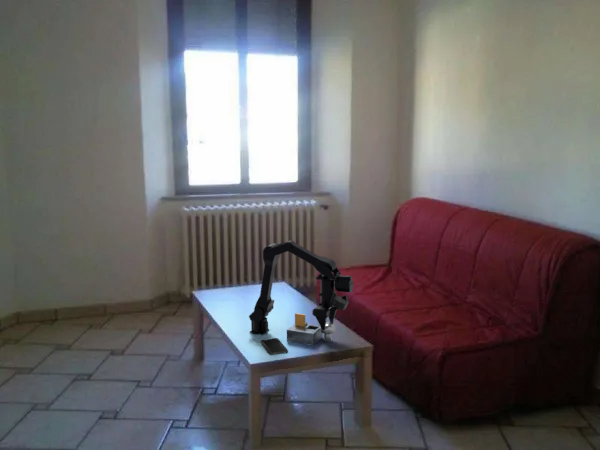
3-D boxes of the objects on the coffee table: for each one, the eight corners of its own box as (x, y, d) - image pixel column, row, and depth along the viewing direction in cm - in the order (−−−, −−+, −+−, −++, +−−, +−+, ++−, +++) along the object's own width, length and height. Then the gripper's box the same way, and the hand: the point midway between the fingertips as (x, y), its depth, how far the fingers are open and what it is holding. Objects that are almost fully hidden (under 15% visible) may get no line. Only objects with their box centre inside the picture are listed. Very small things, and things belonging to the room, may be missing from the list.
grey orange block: (295, 325, 250) (294, 313, 250) (297, 322, 253) (297, 311, 252) (304, 326, 249) (304, 315, 248) (307, 324, 251) (307, 313, 250)
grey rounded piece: (318, 341, 245) (318, 325, 243) (324, 337, 250) (323, 321, 249) (331, 343, 242) (331, 327, 241) (337, 339, 247) (337, 323, 246)
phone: (269, 353, 231) (259, 340, 245) (269, 356, 231) (259, 342, 245) (288, 350, 234) (277, 337, 247) (288, 353, 234) (277, 340, 248)
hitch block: (286, 341, 246) (286, 329, 245) (296, 333, 255) (296, 322, 254) (313, 345, 241) (313, 333, 240) (322, 337, 250) (322, 326, 249)
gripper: (337, 298, 231) (337, 336, 233) (353, 286, 247) (353, 321, 250) (311, 295, 235) (312, 332, 238) (329, 283, 252) (329, 318, 255)
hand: (327, 326), depth 245 cm, fingers open, 9 cm apart
